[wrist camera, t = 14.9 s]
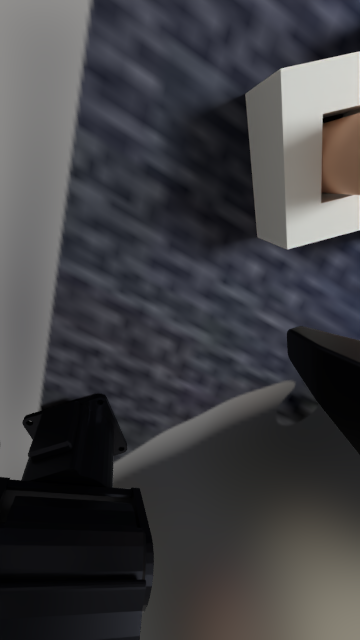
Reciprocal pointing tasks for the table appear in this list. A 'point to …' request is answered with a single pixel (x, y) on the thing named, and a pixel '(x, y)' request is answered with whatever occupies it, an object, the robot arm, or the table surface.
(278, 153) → the hole block
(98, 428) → the robot arm
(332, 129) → the dowel
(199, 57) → the table surface
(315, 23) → the table surface
